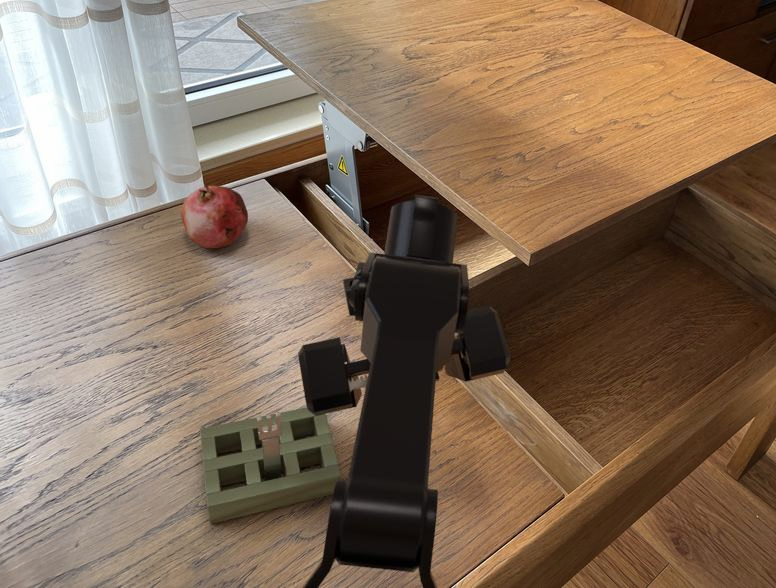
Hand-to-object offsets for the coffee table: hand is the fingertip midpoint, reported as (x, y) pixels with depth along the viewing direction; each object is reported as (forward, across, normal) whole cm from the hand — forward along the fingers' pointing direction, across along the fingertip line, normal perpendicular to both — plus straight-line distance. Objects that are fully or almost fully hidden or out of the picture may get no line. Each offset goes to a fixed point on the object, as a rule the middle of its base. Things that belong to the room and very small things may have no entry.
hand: (403, 378), depth 73 cm
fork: (+10, +15, +6) cm, 19 cm away
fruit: (+27, +20, -32) cm, 46 cm away
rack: (+11, +16, +4) cm, 19 cm away
